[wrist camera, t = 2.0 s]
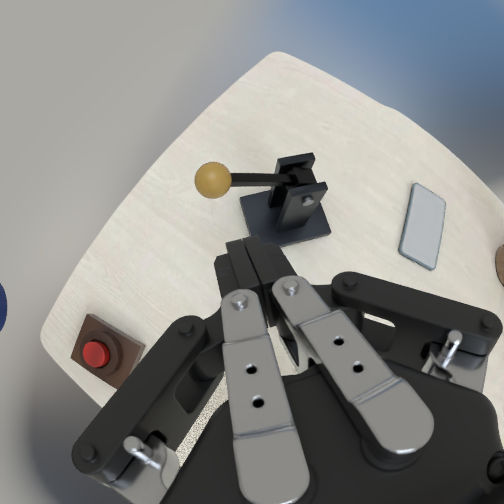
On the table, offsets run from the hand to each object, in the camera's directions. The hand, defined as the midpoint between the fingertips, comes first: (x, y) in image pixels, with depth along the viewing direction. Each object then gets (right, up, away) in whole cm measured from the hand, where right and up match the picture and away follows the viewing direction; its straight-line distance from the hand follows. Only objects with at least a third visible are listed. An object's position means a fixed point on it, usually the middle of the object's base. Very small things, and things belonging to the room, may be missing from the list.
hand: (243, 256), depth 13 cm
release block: (-21, -15, +25) cm, 36 cm away
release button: (-21, -14, +21) cm, 33 cm away
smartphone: (+31, +5, +32) cm, 45 cm away
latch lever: (0, +7, +18) cm, 20 cm away
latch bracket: (+5, +6, +31) cm, 32 cm away
